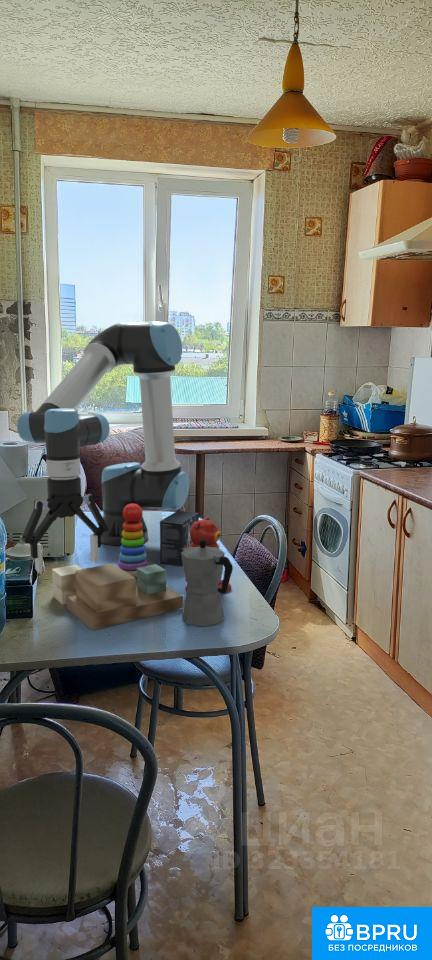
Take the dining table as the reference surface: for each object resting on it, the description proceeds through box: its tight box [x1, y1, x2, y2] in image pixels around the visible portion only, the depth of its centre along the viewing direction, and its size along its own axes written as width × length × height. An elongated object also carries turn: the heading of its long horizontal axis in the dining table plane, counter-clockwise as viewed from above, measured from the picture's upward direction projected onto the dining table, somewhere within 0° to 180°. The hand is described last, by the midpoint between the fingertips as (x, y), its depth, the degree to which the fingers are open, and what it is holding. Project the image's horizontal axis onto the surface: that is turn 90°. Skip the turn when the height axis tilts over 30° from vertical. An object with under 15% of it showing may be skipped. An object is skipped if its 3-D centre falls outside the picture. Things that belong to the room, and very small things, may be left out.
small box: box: [159, 510, 200, 567], centre depth 193 cm, size 13×7×12 cm, turn 161°
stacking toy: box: [117, 504, 148, 579], centre depth 179 cm, size 8×8×19 cm
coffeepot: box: [181, 539, 234, 627], centre depth 149 cm, size 15×9×18 cm, turn 43°
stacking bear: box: [184, 517, 232, 593], centre depth 167 cm, size 11×10×18 cm
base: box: [65, 563, 184, 631], centre depth 157 cm, size 22×15×9 cm
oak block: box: [51, 564, 83, 606], centre depth 164 cm, size 6×6×7 cm
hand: (67, 566), depth 162 cm, fingers open, 13 cm apart
